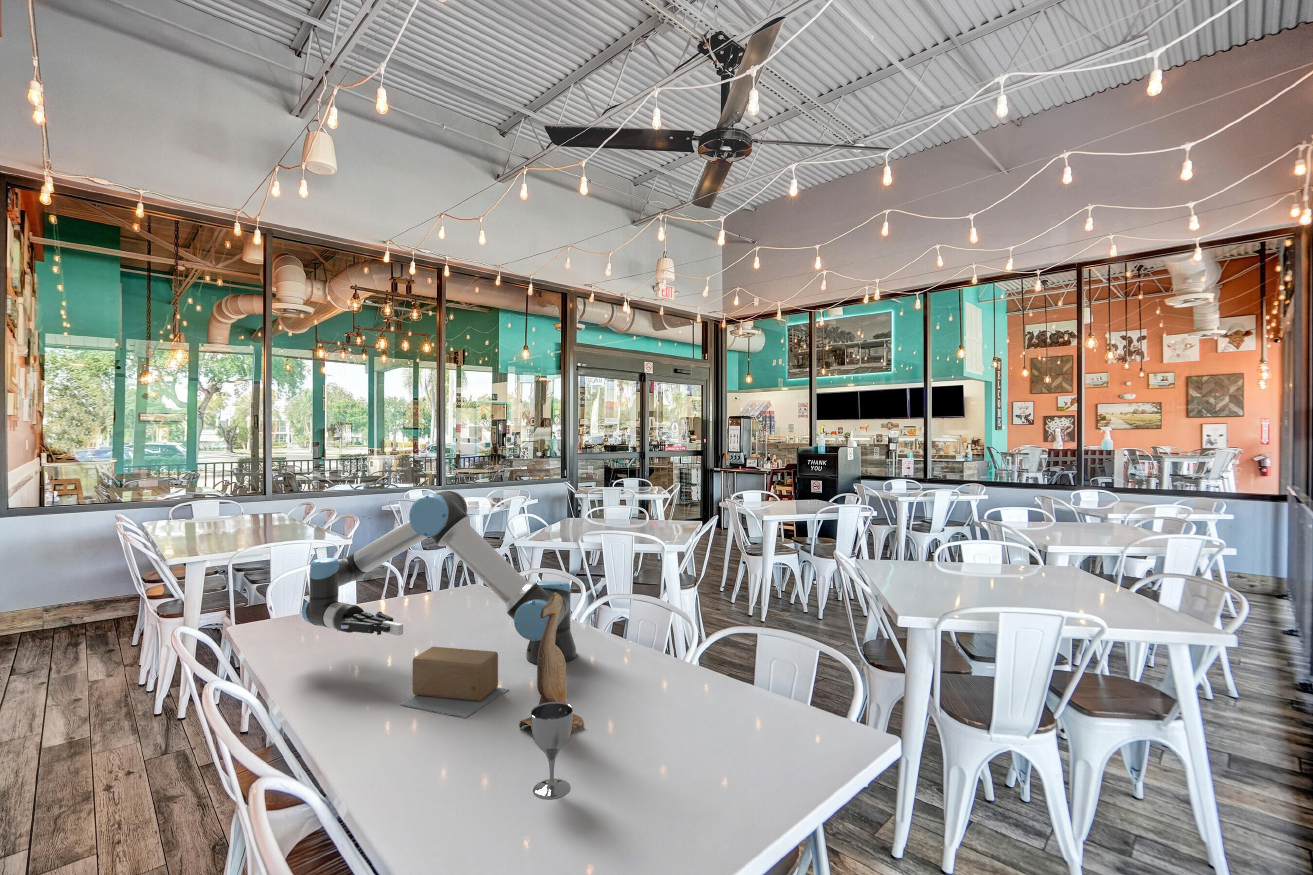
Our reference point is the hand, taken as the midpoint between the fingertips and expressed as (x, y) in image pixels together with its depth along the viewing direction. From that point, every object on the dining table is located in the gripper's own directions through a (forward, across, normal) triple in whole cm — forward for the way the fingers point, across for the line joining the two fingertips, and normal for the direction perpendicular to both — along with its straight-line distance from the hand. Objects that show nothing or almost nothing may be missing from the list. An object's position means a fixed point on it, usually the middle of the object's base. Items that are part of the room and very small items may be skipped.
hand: (400, 629), depth 169 cm
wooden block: (+6, -2, -10) cm, 12 cm away
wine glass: (+66, +19, -16) cm, 71 cm away
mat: (+18, -3, -16) cm, 24 cm away
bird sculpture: (+50, -1, -16) cm, 53 cm away
